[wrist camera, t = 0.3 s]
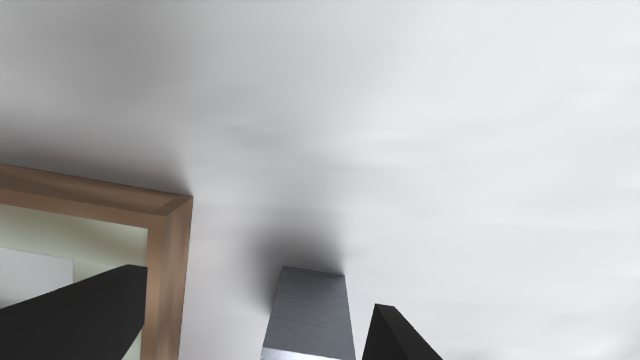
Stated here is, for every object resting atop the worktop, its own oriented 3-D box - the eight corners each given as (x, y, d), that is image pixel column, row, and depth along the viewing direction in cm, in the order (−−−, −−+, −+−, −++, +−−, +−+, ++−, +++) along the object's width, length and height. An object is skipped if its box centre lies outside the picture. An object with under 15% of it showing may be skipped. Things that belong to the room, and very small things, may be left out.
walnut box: (174, 397, 22) (147, 449, 19) (-87, 357, 22) (-163, 404, 18) (193, 197, 19) (165, 216, 16) (-114, 143, 18) (-214, 151, 15)
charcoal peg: (332, 329, 21) (337, 436, 14) (273, 319, 21) (250, 422, 14) (344, 276, 20) (356, 362, 13) (282, 265, 20) (262, 347, 13)
